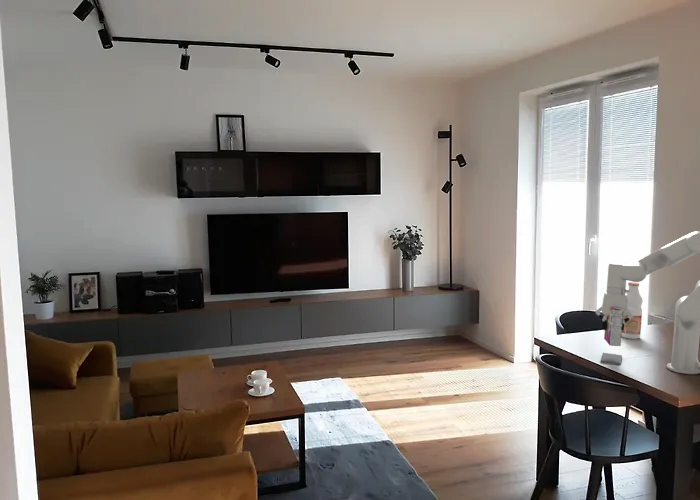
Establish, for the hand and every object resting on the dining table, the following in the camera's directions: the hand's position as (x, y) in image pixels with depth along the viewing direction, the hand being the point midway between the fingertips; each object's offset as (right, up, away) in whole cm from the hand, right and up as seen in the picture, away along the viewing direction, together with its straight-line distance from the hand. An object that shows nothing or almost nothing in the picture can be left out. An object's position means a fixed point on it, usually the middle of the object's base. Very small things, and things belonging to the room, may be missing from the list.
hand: (612, 330), depth 258 cm
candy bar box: (0, -6, +1) cm, 6 cm away
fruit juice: (+27, -9, +41) cm, 50 cm away
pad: (0, -13, +1) cm, 13 cm away
